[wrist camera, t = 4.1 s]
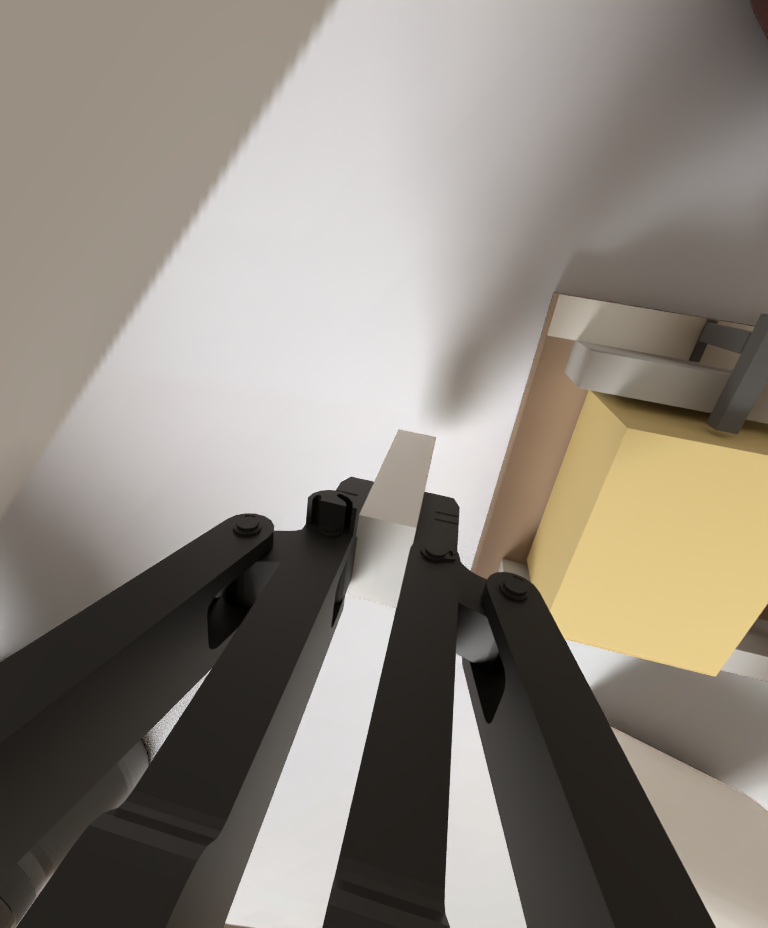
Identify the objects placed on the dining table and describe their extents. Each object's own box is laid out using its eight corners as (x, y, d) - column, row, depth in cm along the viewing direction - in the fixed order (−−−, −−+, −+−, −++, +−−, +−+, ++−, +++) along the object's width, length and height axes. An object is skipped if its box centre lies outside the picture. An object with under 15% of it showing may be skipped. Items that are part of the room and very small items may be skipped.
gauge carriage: (526, 559, 19) (540, 633, 15) (624, 292, 14) (681, 300, 11) (736, 608, 18) (808, 700, 15) (917, 339, 14) (1101, 368, 10)
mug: (591, 681, 24) (642, 860, 16) (749, 760, 24) (867, 972, 17) (478, 781, 29) (480, 950, 22) (608, 846, 29) (652, 1033, 22)
